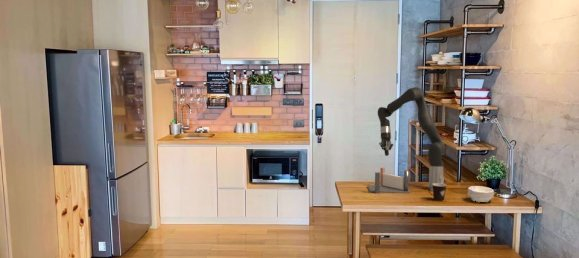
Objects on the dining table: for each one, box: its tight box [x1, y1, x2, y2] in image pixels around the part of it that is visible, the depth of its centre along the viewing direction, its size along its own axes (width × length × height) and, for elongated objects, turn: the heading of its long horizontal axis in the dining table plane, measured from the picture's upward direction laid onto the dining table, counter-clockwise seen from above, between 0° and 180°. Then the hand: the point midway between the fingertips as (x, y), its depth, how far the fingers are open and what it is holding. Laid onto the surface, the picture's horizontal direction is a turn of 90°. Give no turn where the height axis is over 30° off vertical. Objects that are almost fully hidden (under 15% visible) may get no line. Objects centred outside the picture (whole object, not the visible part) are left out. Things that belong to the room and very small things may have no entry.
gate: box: [379, 167, 404, 190], centre depth 322 cm, size 19×2×12 cm, turn 42°
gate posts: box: [374, 169, 410, 194], centre depth 312 cm, size 23×3×15 cm, turn 95°
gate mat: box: [367, 184, 411, 194], centre depth 321 cm, size 27×17×1 cm, turn 87°
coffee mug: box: [428, 183, 447, 202], centre depth 294 cm, size 12×9×10 cm
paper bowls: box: [467, 185, 495, 203], centre depth 292 cm, size 15×15×8 cm
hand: (386, 155), depth 342 cm, fingers closed
